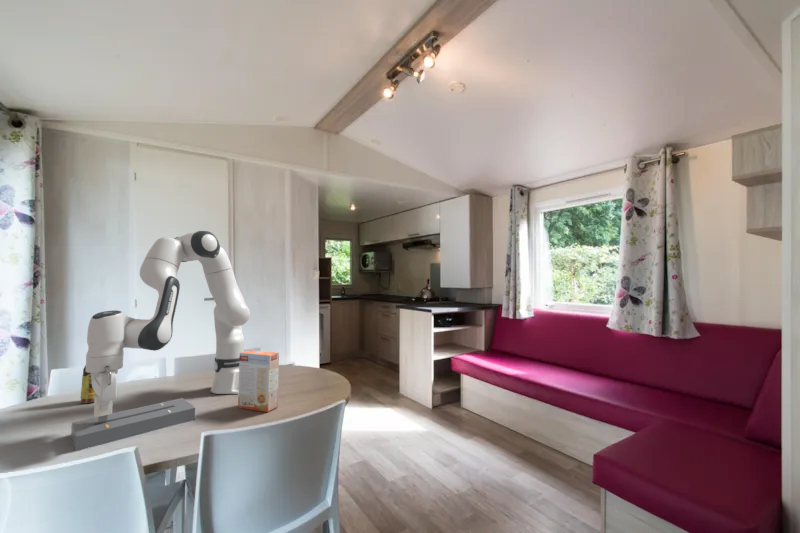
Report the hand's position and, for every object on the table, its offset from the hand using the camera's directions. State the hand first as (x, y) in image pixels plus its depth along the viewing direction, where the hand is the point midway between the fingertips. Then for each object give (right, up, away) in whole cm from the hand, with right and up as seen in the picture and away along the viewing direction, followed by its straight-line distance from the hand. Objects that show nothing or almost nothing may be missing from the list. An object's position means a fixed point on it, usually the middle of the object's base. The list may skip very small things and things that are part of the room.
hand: (102, 408), depth 106 cm
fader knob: (0, -4, 0) cm, 4 cm away
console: (+6, -9, +6) cm, 12 cm away
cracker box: (+38, -10, +24) cm, 46 cm away
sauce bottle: (-29, -9, +28) cm, 42 cm away
